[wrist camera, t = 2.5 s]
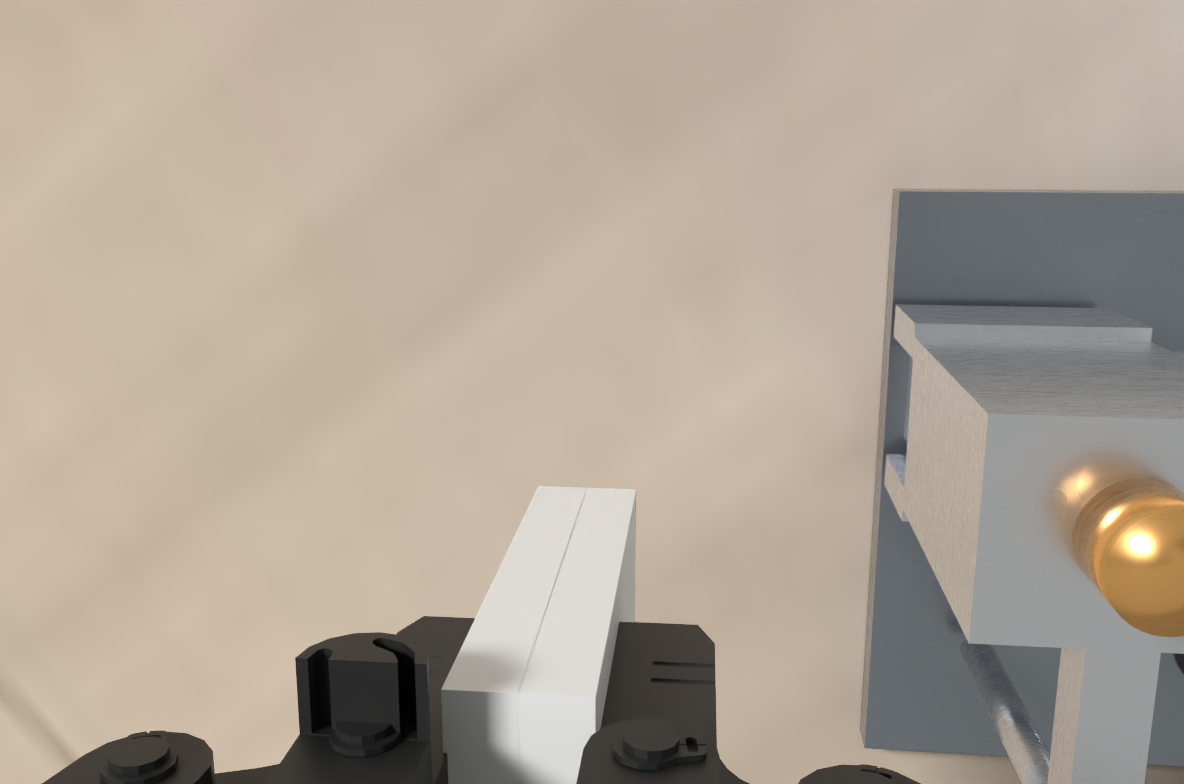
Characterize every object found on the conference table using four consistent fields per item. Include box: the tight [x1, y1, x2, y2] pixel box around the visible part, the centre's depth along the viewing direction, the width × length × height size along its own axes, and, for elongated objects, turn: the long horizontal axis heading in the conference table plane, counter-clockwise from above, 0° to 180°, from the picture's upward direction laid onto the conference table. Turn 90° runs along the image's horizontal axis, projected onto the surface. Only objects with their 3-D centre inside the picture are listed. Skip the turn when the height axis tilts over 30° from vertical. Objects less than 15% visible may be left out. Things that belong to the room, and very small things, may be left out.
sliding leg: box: [884, 304, 1184, 784], centre depth 23 cm, size 5×9×11 cm, turn 0°
